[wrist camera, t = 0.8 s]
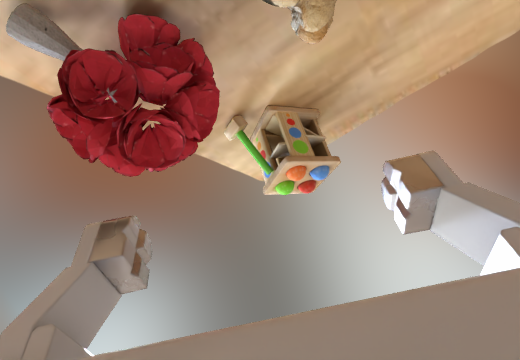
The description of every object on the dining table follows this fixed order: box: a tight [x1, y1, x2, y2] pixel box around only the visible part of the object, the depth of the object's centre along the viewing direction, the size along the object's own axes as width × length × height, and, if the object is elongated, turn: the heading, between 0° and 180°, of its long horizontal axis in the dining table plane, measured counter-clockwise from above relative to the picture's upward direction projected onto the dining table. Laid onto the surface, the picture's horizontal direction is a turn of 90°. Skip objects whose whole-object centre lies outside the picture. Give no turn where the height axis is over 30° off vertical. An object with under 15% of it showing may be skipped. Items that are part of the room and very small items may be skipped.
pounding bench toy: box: [224, 106, 341, 195], centre depth 81 cm, size 23×14×18 cm, turn 68°
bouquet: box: [6, 3, 220, 177], centre depth 51 cm, size 22×24×30 cm
